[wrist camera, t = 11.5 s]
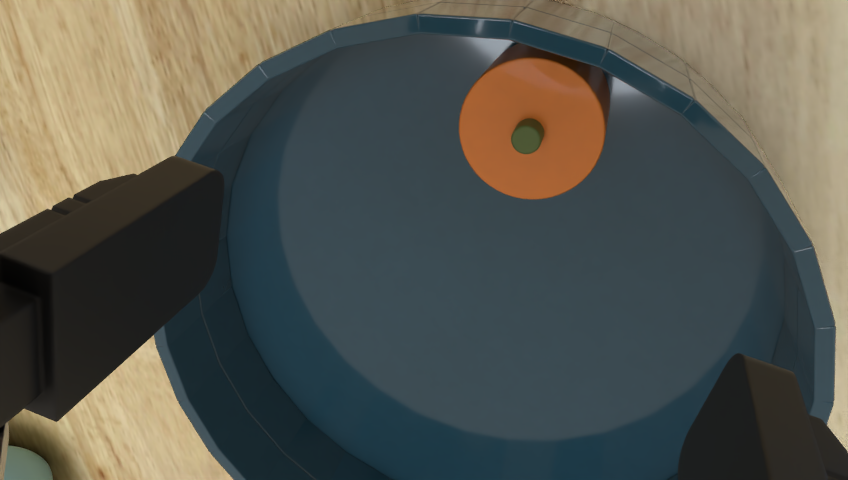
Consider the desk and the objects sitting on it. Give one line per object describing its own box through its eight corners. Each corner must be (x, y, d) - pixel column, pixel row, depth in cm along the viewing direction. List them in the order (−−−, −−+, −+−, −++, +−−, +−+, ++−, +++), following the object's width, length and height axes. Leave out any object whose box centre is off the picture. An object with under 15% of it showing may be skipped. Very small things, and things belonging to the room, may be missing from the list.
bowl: (451, -168, 20) (399, -188, 16) (951, 317, 22) (1027, 419, 18) (139, 274, 30) (54, 337, 26) (499, 580, 32) (477, 687, 28)
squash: (541, 8, 21) (522, 29, 18) (638, 100, 21) (638, 139, 18) (455, 105, 23) (422, 141, 19) (545, 188, 23) (528, 238, 20)
